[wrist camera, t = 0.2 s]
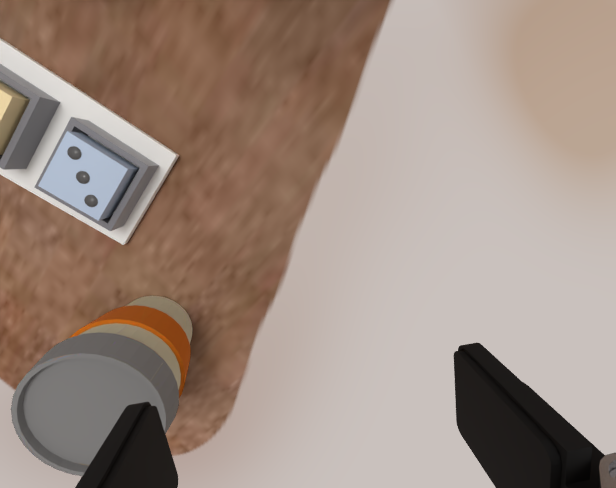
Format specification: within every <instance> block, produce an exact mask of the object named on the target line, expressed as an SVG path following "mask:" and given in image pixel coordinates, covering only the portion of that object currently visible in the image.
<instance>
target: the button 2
mask: <svg viewBox="0 0 616 488" xmlns="http://www.w3.org/2000/svg"><path fill="white" fill-rule="evenodd" d="M29 102H30V100H29V99H28V98H26V97H24V96H23V95H21V94H20V93H18V92H17V91H15V90H13V89H12V88H10V87H9V86H7V85H5V84H4V83H2V82H1V81H0V155H3V154H4V152H5V150H6V148H7V146H8V144H9V142H10V140H11V138H12V136H13V134H14V132H15V130H16V128H17V126H18V124H19V122H20V120H21V118H22V116H23V114H24V112H25V110H26V108H27V106H28V104H29Z"/></svg>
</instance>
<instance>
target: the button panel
mask: <svg viewBox="0 0 616 488" xmlns="http://www.w3.org/2000/svg"><path fill="white" fill-rule="evenodd" d="M0 81H1V82H2V83H4V84H5V85H7V86H9V87H10V88H12V89H13V90H15V91H17V92H18V93H20V94H21V95H23V96H24V97H26V98H28V99H29V100H30V102H29V104H28V106H27V108H26V110H25V112H24V114H23V116H22V118H21V120H20V122H19V124H18V126H17V128H16V130H15V132H14V134H13V136H12V138H11V140H10V142H9V144H8V146H7V148H6V150H5V152H4V154H3V155H0V175H2V176H4V177H6V178H7V179H9V180H11V181H13V182H14V183H16V184H18V185H20V186H21V187H23V188H25V189H27V190H28V191H30V192H32V193H34V194H35V195H37V196H39V197H41V198H42V199H44V200H46V201H47V202H49V203H51V204H53V205H54V206H56V207H58V208H60V209H61V210H63V211H65V212H67V213H68V214H70V215H72V216H74V217H75V218H77V219H79V220H81V221H82V222H84V223H86V224H88V225H89V226H91V227H93V228H95V229H96V230H98V231H100V232H102V233H103V234H105V235H107V236H109V237H110V238H112V239H114V240H115V241H117V242H119V243H121V244H122V245H124V244H126V243H128V241H129V239H130V238H131V236H132V234H133V233H134V231H135V229H136V227H137V226H138V224H139V222H140V221H141V219H142V217H143V216H144V214H145V212H146V211H147V209H148V207H149V206H150V204H151V202H152V201H153V199H154V197H155V196H156V194H157V192H158V191H159V189H160V187H161V186H162V184H163V182H164V180H165V179H166V177H167V175H168V174H169V172H170V170H171V169H172V167H173V165H174V164H175V162H176V160H177V159H178V157H179V155H178V154H177V153H175V152H174V151H172V150H171V149H169V148H168V147H166V146H165V145H163V144H162V143H160V142H159V141H157V140H155V139H154V138H152V137H151V136H149V135H148V134H146V133H145V132H143V131H142V130H140V129H139V128H137V127H136V126H134V125H133V124H131V123H130V122H128V121H127V120H125V119H123V118H122V117H120V116H119V115H117V114H116V113H114V112H113V111H111V110H110V109H108V108H107V107H105V106H104V105H102V104H101V103H99V102H98V101H96V100H94V99H93V98H91V97H90V96H88V95H87V94H85V93H84V92H82V91H81V90H79V89H78V88H76V87H75V86H73V85H72V84H70V83H69V82H67V81H66V80H64V79H62V78H61V77H59V76H58V75H56V74H55V73H53V72H52V71H50V70H49V69H47V68H46V67H44V66H43V65H41V64H40V63H38V62H37V61H35V60H34V59H32V58H30V57H29V56H27V55H26V54H24V53H23V52H21V51H20V50H18V49H17V48H15V47H14V46H12V45H11V44H9V43H8V42H6V41H5V40H3V39H2V38H0ZM67 131H71V132H78V133H83V134H85V135H86V136H88V137H90V138H91V139H93V140H94V141H96V142H98V143H99V144H101V145H102V146H104V147H105V148H107V149H109V150H110V151H112V152H113V153H115V154H117V155H118V156H120V157H121V158H123V159H125V160H126V161H128V162H129V163H131V164H132V165H134V166H136V167H137V168H139V169H138V170H137V172H136V174H135V176H134V177H133V179H132V181H131V182H130V184H129V186H128V188H127V189H126V191H125V193H124V195H123V196H122V198H121V200H120V201H119V203H118V205H117V207H116V208H115V210H114V212H113V214H112V215H111V217H108V218H105V219H102V220H99V221H98V220H96V219H94V218H93V217H91V216H89V215H88V214H86V213H84V212H82V211H81V210H79V209H77V208H75V207H74V206H72V205H70V204H69V203H67V202H65V201H63V200H62V199H60V198H58V197H57V196H55V195H53V194H51V193H50V192H48V191H46V190H44V189H43V188H41V187H39V186H38V185H39V183H40V181H41V179H42V177H43V176H44V174H45V172H46V170H47V168H48V166H49V164H50V162H51V160H52V158H53V157H54V155H55V153H56V151H57V149H58V147H59V145H60V143H61V141H62V139H63V138H64V136H65V134H66V132H67Z"/></svg>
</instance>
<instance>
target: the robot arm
mask: <svg viewBox="0 0 616 488" xmlns="http://www.w3.org/2000/svg"><path fill="white" fill-rule="evenodd" d="M454 371H455V395H456V417H457V426H458V429H459V431H460V433H461V435H462V437H463V438H464V440H465V441H466V443H467V444H468V446H469V447H470V449H471V450H472V452H473V453H474V455H475V457H476V458H477V459H478V461H479V463H480V464H481V466H482V467H483V469H484V470H485V472H486V473H487V475H488V476H489V478H490V479H491V481H492V482H493V484H494V485H495V487H496V488H616V453H612V454H608V455H604V454H603V453H601V452H600V451H599V450H598V449H597V448H596V447H595V446H594V445H593V444H592V443H590V442H589V441H588V440H587V439H586V438H585V437H584V436H583V435H582V434H581V433H579V432H578V431H577V430H576V429H575V428H574V427H573V426H572V425H571V424H570V423H568V422H567V421H566V420H565V419H564V418H563V417H562V416H561V415H560V414H558V413H557V412H556V411H555V410H554V409H553V408H552V407H551V406H550V405H549V404H548V403H546V402H545V401H544V400H543V399H542V398H541V397H540V396H539V395H537V393H535V392H534V391H533V390H532V389H531V388H530V387H529V386H528V385H526V384H525V383H523V382H521V381H520V380H519V379H518V378H517V377H516V376H515V375H514V374H513V373H512V372H511V371H510V370H508V369H507V368H506V367H505V366H504V365H503V364H502V363H501V362H500V361H498V359H496V358H495V357H494V356H493V355H492V354H491V353H490V352H489V351H488V350H487V349H486V348H484V347H483V346H482V345H481V344H480V343H473V344H467V345H461V346H459V348H458V351H456V352H455V353H454ZM177 487H178V474H177V471H176V468H175V464H174V461H173V458H172V455H171V451H170V448H169V445H168V442H167V438H166V435H165V432H164V429H163V425H162V422H161V419H160V416H159V412H158V409H157V407H156V406H151V404H150V403H149V402H142V403H137V404H131V405H128V406H127V407H126V408H125V409H124V411H123V412H122V414H121V416H120V417H119V419H118V420H117V422H116V424H115V425H114V427H113V428H112V430H111V432H110V433H109V435H108V436H107V438H106V440H105V441H104V443H103V444H102V446H101V448H100V449H99V451H98V452H97V454H96V456H95V457H94V459H93V460H92V462H91V463H90V465H89V467H88V468H87V470H86V471H85V473H84V475H83V476H82V478H81V480H80V481H79V483H78V484H77V486H76V487H75V488H177Z"/></svg>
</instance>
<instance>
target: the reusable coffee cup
mask: <svg viewBox="0 0 616 488" xmlns="http://www.w3.org/2000/svg"><path fill="white" fill-rule="evenodd" d="M192 330H193V328H192V322H191V320H190V317H189V315H188V314H187V312H186V311H185V310H184V309H183V308H182V307H181V306H180V305H179V304H178V303H176V302H175V301H173V300H171V299H168V298H165V297H161V296H145V297H142V298H138V299H136V300H134V301H132V302H131V303H129V304H128V305H126V306H124V307H120V308H117V309H114V310H112V311H110V312H108V313H106V314H104V315H103V316H101V317H99V318H98V319H96V320H94V321H93V322H91V323H89V324H88V325H86V326H84V327H83V328H81V329H79V330H78V331H77V332H76V333H74V334H73V335H72V336H71V337H70V338H68V339H66V340H64V341H62V342H60V343H58V344H57V345H56V346H54V347H53V348H52V349H51V350H49V351H48V352H47V353H46V354H45V355H44V356H43V357H42V358H41V359H40V360H39V361H38V362H37V364H36V365H35V366H34V367H33V368H32V369H31V370H30V371H29V372H28V373H27V374H26V376H25V377H24V378H23V379H22V381H21V382H20V383H19V384H18V386H17V389H16V391H15V393H14V396H13V400H12V407H11V413H12V422H13V425H14V428H15V430H16V433H17V435H18V437H19V438H20V440H21V441H22V443H23V444H24V446H25V447H26V448H27V449H28V450H29V451H30V452H31V453H32V454H33V455H34V456H36V457H37V458H38V459H40V460H41V461H42V462H44V463H45V464H47V465H49V466H51V467H53V468H55V469H57V470H60V471H63V472H66V473H69V474H73V475H79V476H83V475H84V473H85V471H86V470H87V468H88V467H89V465H90V463H91V462H92V460H93V459H94V457H95V456H96V454H97V452H98V451H99V449H100V448H101V446H102V444H103V443H104V441H105V440H106V438H107V436H108V435H109V433H110V432H111V430H112V428H113V427H114V425H115V424H116V422H117V420H118V419H119V417H120V416H121V414H122V412H123V411H124V409H125V408H126V407H127V406H128V405H131V404H137V403H142V402H149V403H150V404H151V406H156V407H157V409H158V412H159V416H160V419H161V422H162V425H163V429H164V432H165V434H166V432H167V430H168V428H169V427H170V425H171V423H172V421H173V420H174V418H175V416H176V413H177V409H178V406H179V398H180V396H181V394H182V391H183V388H184V384H185V380H186V375H187V371H188V367H189V362H190V353H191V350H190V342H191V338H192Z"/></svg>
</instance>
